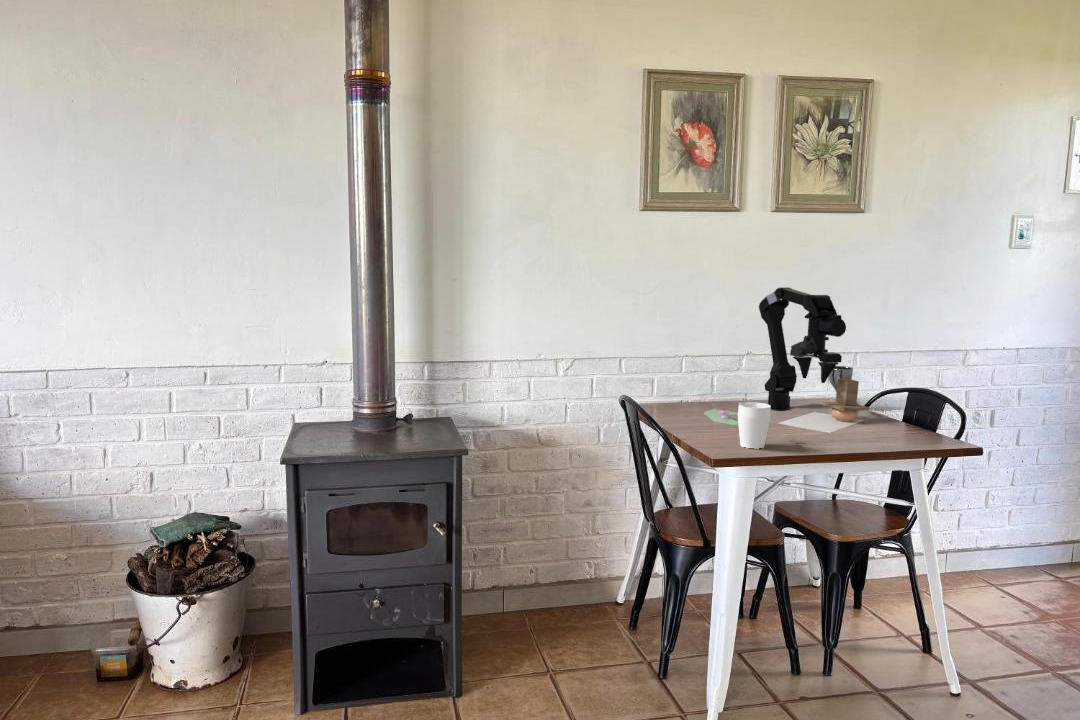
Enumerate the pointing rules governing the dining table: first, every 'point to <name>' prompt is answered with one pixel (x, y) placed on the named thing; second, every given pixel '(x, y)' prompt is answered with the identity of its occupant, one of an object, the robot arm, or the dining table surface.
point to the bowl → (844, 415)
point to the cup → (753, 424)
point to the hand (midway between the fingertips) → (813, 380)
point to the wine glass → (840, 375)
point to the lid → (846, 396)
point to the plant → (723, 415)
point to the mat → (818, 422)
